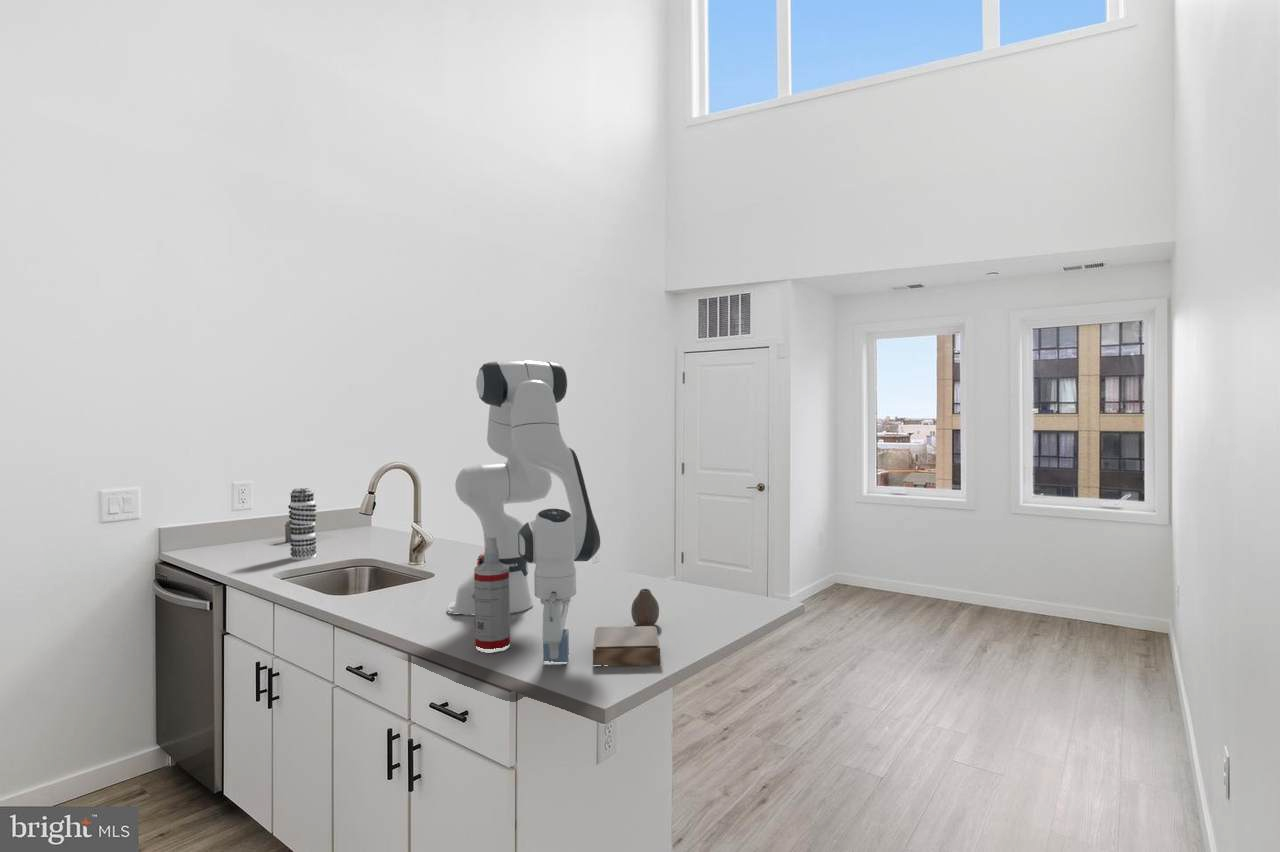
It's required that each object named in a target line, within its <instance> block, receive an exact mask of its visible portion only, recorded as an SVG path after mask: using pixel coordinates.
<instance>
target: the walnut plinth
mask: <svg viewBox="0 0 1280 852" xmlns="http://www.w3.org/2000/svg"><path fill="white" fill-rule="evenodd" d="M593 634H594V635H593V646H592V666H593V665H601V666H602V667H605V666H604V665H608V666H607V667H634V666H635V667H639V666H642V667H643V666H647V667H648V666H661V647H660V642H659V641H660V639H659V636H658V635H659V634H658V628H657V626H655V625H653V626H637V625H636V626H597V627H595V628H594V633H593Z"/></svg>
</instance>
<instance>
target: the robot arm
mask: <svg viewBox="0 0 1280 852" xmlns="http://www.w3.org/2000/svg"><path fill="white" fill-rule="evenodd" d="M567 378H568V377H567V372H566V370H565V368H564V367H563V366H562V365H561V364H559V363H554V362H550V361H546V362H543V361H537V360H520V361H518V360H517V361H516V360H513V361H502V362H498V361H491V362H490V361H489V362H487V363H483V365H482V366H480V367H479V371H478V374H477V376H476V380H475V381H476V390H477V394H478V397H479V399H480V400H481V402H483V403H484V404H487V405H489V411H488V421H487V422H488V423H487V433H486V436H487V437H486V441H487V444H488V447H489V448H490V450H492V451H493V452H494V453H496V454H497V455H499V456H502V457H504V458H507V460H506V462H502V463H501V462H500V463H481V464H475V465H471V466H467V467H464V468H462V469H461V470H460V472H459V473H458V475H457V476H456V479H455V484H454V485H455V492H456V495H457V497H458V499H459V500H460V501H461V502H462V503H463V504H465V505H466V506H468V507H469V508H470V509H471V510H472V511H473V512H474V513H475V514H476V516H477V517H478V519H479V521H480V523H481V527H482V530H483V531H482V532H483V542H484V544H483V545H484V550H485V549H486V538H492V537H496V539H497V549H498V551H499V562H500V563H503V564H506V565H509V593H510V613H511V614H516V613H520V612H523V611H526V610H529V609H531V608H532V607H533V606H534V604H533V600H532V597H531V591H530V586H529V580H528V574H529V564H535V569H534V573H533V575H534V581H533V582H534V584H533V585H534V596H535V598H537V599H540V604H541V605H543V609H542V643H543V642H544V644H549V650H550V658H551V659H557V658H558V657H559V643H560V642H561V639H562V634H563V630H564V629H565V625H566V621H567V617H568V612H569V607H570V606H569V604H570V603H571V598H573V597H574V596H575V595H576V594H577V570H576V569H577V568H576V566H575V562H588V561H590V559H592V558H593V557H594V556H595V555H596V553H597V552H598V551H599V549H600V547H601V536H600V530H599V528H598V525H597V522H596V519H595V517H594V514H593V511H592V506H591V502H590V499H589V495H588V490H587V488H586V487H587V486H586V483H585V480H584V479H585V478H584V475H583V471H582V469H581V464H580V461H579V458H578V456H577V454H576V452H575V450H574V449H572V448H571V447H568V445H567V444H566V442H565V441H564V439H563V436H562V433H561V428H560V420H559V419H560V417H559V412H558V408H557V406H558V405H557V403H560V402H561V401H562V400H563V399H564V398H566V397H565V396H566V394H567V391H568V390H567V388H568V379H567ZM551 474H552V475H555V476H556V477H558V478H559V479H560V481H561V482H562V484H563V486H564V488H565V492H566V496H567V500H568V504H569V509H570V512H571V513H570V512H569V511H567V510H565V509H561V508H546V509H543V510H540V511H538V513H537V514H536V515H535V519H534V520H531V521H528V522H526V523H525V524H524V522H522V521H521V520H520V519H519V518H516V517H514V516H512V515H510V514H507V513H505V508H504V505H506V504H507V505H508V504H521V503H524V504H525V503H531V502H534V501H538V500H542V499H545V498H546V497H547V496H548V495H549V493H550V492H551V488H552V481H553V479H552V476H551ZM483 563H484V553H480V554H479V555H478V557H477V559H476V565H477V566H479V565H481V564H483ZM455 596H456V597H455V599H454V600H452V601H451V602H450V603H449V604H448V605H447V610H448V611H449V612H450V613H459V614H475V587H474V572H472V573H471V574H470V575H469V576H468V577H467V578H465V580H463V581H462V582H461V583H460V584H459V586H458V589H457V591H456V595H455ZM515 612H516V613H515Z"/></svg>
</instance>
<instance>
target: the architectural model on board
mask: <svg viewBox="0 0 1280 852" xmlns="http://www.w3.org/2000/svg"><path fill="white" fill-rule="evenodd" d="M291 520H292V519H290V520H288V521H286V523H285V524H284V527H285V535H284V536H285V538H284V539H285V543H289V544H291V541H290V539H292V538H291V534H292V531H291V529H292V527H290V525H291V524H290V521H291ZM314 523H316V522H315V521H314ZM315 529H316V528H315V525H314V532H315V531H316V530H315ZM315 533H316V532H315Z"/></svg>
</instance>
